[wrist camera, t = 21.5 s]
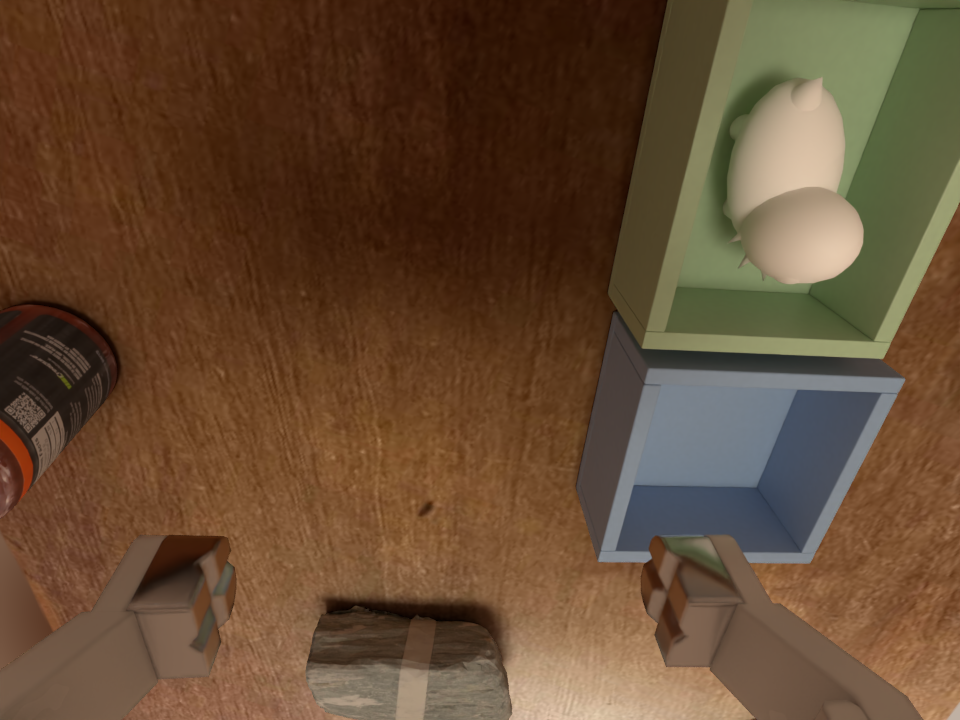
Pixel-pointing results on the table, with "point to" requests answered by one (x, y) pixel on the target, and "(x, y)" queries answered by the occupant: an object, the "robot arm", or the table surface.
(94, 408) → the supplement bottle
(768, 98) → the toy creature
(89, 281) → the table surface
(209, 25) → the table surface
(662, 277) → the sage bin
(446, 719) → the decorative stone
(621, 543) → the blue bin
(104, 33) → the table surface
